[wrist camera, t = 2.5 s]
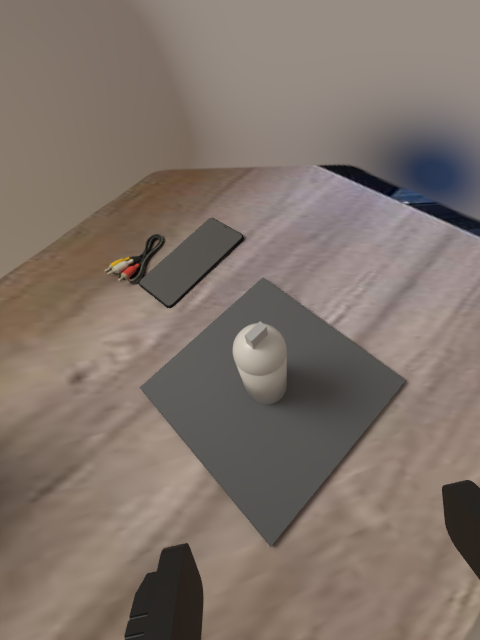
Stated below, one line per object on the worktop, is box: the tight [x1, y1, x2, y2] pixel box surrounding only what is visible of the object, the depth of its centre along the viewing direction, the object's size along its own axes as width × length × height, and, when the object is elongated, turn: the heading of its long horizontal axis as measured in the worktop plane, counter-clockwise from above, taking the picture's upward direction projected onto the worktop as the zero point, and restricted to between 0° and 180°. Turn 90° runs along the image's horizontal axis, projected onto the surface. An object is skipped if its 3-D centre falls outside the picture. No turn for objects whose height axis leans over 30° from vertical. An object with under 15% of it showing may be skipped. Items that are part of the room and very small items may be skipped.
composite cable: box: [105, 234, 163, 284], centre depth 44 cm, size 10×5×2 cm, turn 141°
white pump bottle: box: [233, 321, 287, 405], centre depth 28 cm, size 4×4×12 cm
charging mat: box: [140, 278, 406, 547], centre depth 34 cm, size 20×20×1 cm
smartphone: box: [139, 218, 243, 308], centre depth 44 cm, size 7×1×15 cm
